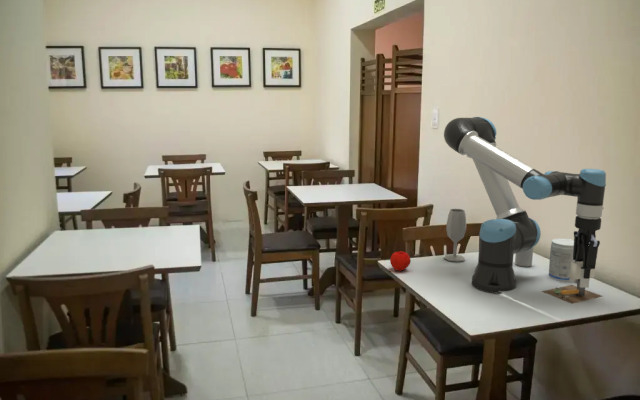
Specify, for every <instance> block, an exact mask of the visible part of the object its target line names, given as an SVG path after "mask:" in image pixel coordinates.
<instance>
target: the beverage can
mask: <svg viewBox="0 0 640 400" xmlns="http://www.w3.org/2000/svg"><path fill="white" fill-rule="evenodd" d="M533 256H534V247H533V248H531V249H529V250H526V251H522V252H519V253H515V258H514V259H515V260H514V263H515V264H516V265H517V266H519V267H521V268H524V267H525V268H527V267H530V266H532V264H533Z"/></svg>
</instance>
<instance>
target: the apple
mask: <svg viewBox="0 0 640 400" xmlns="http://www.w3.org/2000/svg"><path fill="white" fill-rule="evenodd" d="M389 261H390V265H391V268H393V269H394V270H395V271H396V270H398V271H397V272H402V270H403V271H405V270H407V268H408V267H409V266H410V264H411V262H412V260H411V257H410V255H409V254H408V253H407V252H405V251H401V250H399V251H396V252H393V253H392V254H391V256H390V258H389Z"/></svg>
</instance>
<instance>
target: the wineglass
mask: <svg viewBox="0 0 640 400" xmlns="http://www.w3.org/2000/svg"><path fill="white" fill-rule="evenodd" d="M466 216H467V214H466V210H465V209H463V208H450V210H449V213H448V215H447V221H446V226H445V227H446V228H445V229H446V230H445V231H446V233H447V234H446V235H447V237H448V238H449V239H451V240H450V241H452V242H453V249H452V250H453V252H452V254H451V253H450V254H444V257H443V259H444V260H446V261H448V262H455V263H459V262H465V259H466V257H465V256H463V255H461V254H457V252H458V251H457V249H458V242H460V241H461V240H463V239H464V237H465V235H466V231H467V217H466Z"/></svg>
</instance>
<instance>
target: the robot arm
mask: <svg viewBox="0 0 640 400" xmlns="http://www.w3.org/2000/svg"><path fill="white" fill-rule="evenodd" d="M496 136H497V128H496V125H495V124H494V123H493V122H492V121H491V120H490V119H488V118H485V117H480V116H473V117H456V118H454V119H452V120H450V121H449V122H448V123H447V124H446V125H445V128H444V131H443V138H444V142H445V143H446V144H447V146H448V147H449V148H451V149H452V150H453V151H454V152H457V153H458V154H460V155H461V156H465V155H466V157H467V158H470V159H472V161H473V163H474V165H475V168H476V170H477V172H478V176H479V177H480V179H481V182H482V184H483V186H484V190H485V191H486V194H487V196H488V198H489V200H490V201H489V202H490V203H491V206H492V207H493V211H494V213H495V215H496V218H495V219H494V218H492V219H487V220H486V221H484V222H483V223H482V224H481V225H480V230H479V235H478V236H479V241H478V242H479V243H478V244H479V245H478V258H477V260H478V261H477V265H476V267H475V270H474V273H473V275H472V277H471V285H472V287H473V288H476V289H477V290H479V291H483V292H487V293H492V294H502V292H508V291H509V292H510V291H513V290H515V289H516V288H517V279H515V278H516V277H515V272H514V271H515V270H514V267H513V266H514V255H516V253H519V252H522V251H526V250H529V249H531V248H533V249H534V248H535V246H537V244H538V243H539V241H540V239H541V227H540V224H538V223H537V221H536V220H534V219H532V218H531V217H529V215H528V213H527V211H526V210H525V209H523V208H521V207H520V206H519V202H518V201H517V199H516V196H515V194H514V192H513V189H512V187H511V184H510V183H509V182H511V183H512V184H514V185H516V186H517V187H519V188H520V189H522V191H523V193H524V196H525V197H527V198H528V199H530V200H534V201H536V200H539V201H541V200H544V199H548V198H551V197H553V198H554V197H557V196H566V197H567V196H568V197H573V198H574V197H575V198H576V197H577V198H576V199H577V202H576V209H575V215H576V216H575V220H574V227H575V228H577V229H578V231H577V230H576V231H573V240H574V249H573V260H575V262H580V261H583V267H581V275H580V285H579V287H583V288H585V289H586V288H587V289H588V288H589V287H590V279H591V278H590V271H591V269H595V270H596V267H595V265H597V259H598V250H599V247H600V245H601V243H600V240H597V239H596V236H597V235H596V231H599V230H601V227H602V218H601V217H602V216H603V210H604V199H605V190H606V185H607V183H606V178H607V177H606V176H607V173H606V171H605V170H604V169H597V168H582V169H580V172H579V173H570V172H563V171H561V172H560V171H558V170H555V171H553V170H551V171H550V170H549V171H545V172H544V173H542V171H541V172H540V171H539V170H537V169H535V168H534V167H532V166H530V165H528V164H527V163H525V162H523V161H522V160H520V159H518V158H517V157H515V156H513V155H511V154H509V153H508V152H506V151H504V150H503V149H501V148H499V147H497V143H496V139H497V138H496ZM573 283H574V284H577V279H574V281H573Z"/></svg>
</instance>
